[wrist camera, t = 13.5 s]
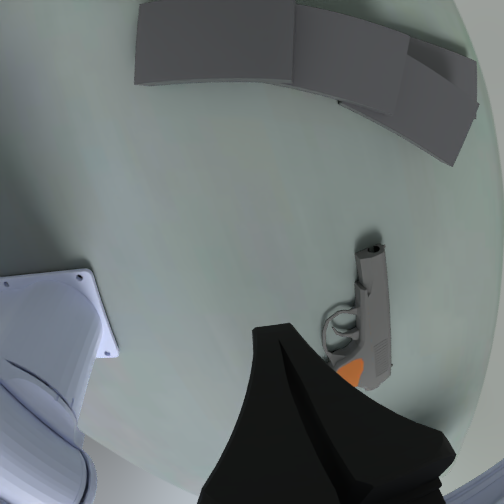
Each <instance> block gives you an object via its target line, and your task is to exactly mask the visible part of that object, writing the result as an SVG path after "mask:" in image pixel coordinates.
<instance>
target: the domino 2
mask: <svg viewBox="0 0 504 504" xmlns="http://www.w3.org/2000/svg"><path fill="white" fill-rule="evenodd" d="M409 39H410V36H409V35H407V34H404V33H401V32H399V31H396V30H393V29H390V28H387V27H385V26H382V25H379V24H375V23H372V22H369V21H366V20H363V19H359V18H356V17H352V16H348V15H345V14H341V13H337V12H333V11H329V10H324V9H320V8H315V7H310V6H305V5H300V4H296V30H295V57H294V79H293V84H285V83H268V84H273V85H278V86H283V87H287V88H292V89H296V90H301V91H305V92H309V93H313V94H317V95H321V96H325V97H329V98H332V99H336V100H340V101H343V102H346V103H350V104H353V105H356V106H360V107H363V108H366V109H369V110H372V111H375V112H378V113H381V114H384V115H394V111H395V107H396V103H397V99H398V94H399V90H400V85H401V81H402V76H403V71H404V66H405V61H406V56H407V50H408V45H409ZM262 83H265V82H262Z"/></svg>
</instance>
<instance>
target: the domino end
mask: <svg viewBox="0 0 504 504" xmlns="http://www.w3.org/2000/svg"><path fill="white" fill-rule="evenodd" d="M407 55H409V56H411V57H412V58H414V59H416V60H417V61H419V62H421V63H422V64H424V65H425V66H427V67H428V68H430V69H432V70H433V71H435V72H436V73H438V74H439V75H441V76H442V77H444V78H445V79H447V80H448V81H449V82H451V83H452V84H454V85H455V86H456V87H458V88H459V89H460V90H462V91H463V92H465V93H466V94H467V95H468V96H470V97H471V98H472V99H474V100H475V101H476V102H477V64H476V61H474V60H472V59H470V58H467V57H465V56H463V55H460V54H458V53H455V52H453V51H450V50H447V49H445V48H442V47H439V46H437V45H434V44H431V43H428V42H425V41H422V40H419V39H416V38H413V37H410V39H409V45H408V50H407ZM474 119H476V114H475V117H474Z"/></svg>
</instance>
